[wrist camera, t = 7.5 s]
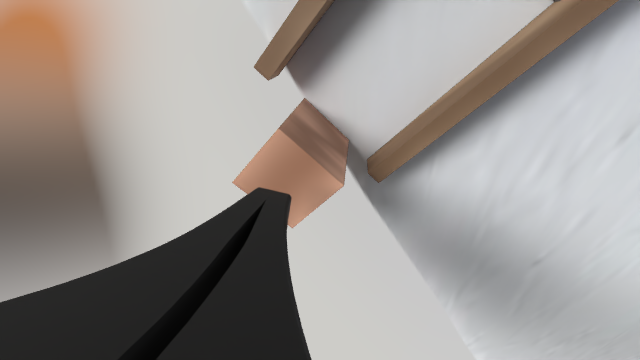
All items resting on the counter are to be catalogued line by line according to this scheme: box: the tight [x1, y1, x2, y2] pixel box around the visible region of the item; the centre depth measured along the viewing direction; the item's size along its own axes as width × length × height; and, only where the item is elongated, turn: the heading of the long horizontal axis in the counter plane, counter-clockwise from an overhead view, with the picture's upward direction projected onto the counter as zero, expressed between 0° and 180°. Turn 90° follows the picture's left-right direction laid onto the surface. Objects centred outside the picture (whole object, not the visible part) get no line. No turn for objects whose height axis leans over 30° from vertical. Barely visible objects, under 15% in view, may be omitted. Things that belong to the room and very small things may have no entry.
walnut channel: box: [254, 0, 618, 183], centre depth 12 cm, size 10×16×2 cm, turn 138°
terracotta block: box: [232, 98, 349, 228], centre depth 15 cm, size 4×4×6 cm
